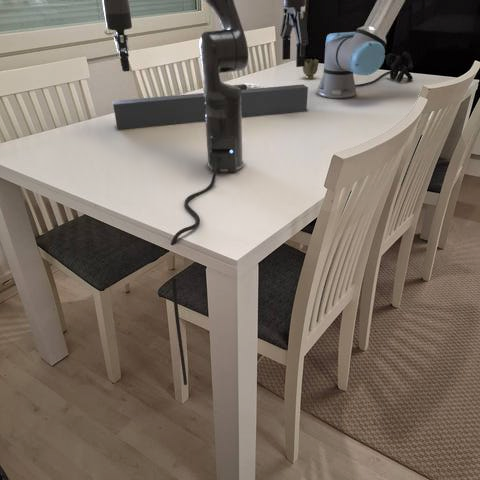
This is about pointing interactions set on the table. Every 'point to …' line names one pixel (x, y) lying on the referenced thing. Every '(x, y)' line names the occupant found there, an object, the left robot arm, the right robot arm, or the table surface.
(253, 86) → the spray bottle
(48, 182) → the table surface
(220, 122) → the left robot arm
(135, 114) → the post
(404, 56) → the squiggle
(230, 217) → the table surface
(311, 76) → the cup
